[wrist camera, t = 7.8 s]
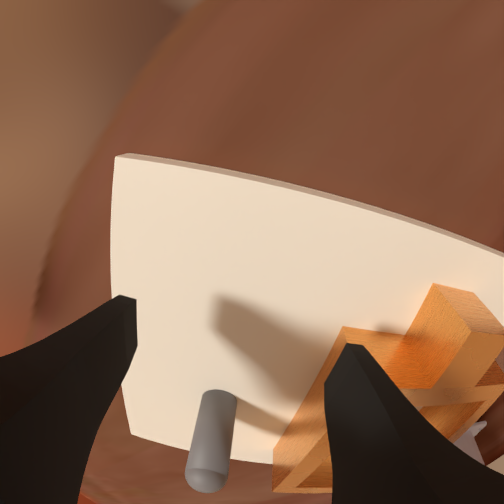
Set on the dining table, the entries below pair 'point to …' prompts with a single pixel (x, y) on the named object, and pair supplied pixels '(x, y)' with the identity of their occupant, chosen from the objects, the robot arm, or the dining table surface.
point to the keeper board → (259, 298)
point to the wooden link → (405, 381)
